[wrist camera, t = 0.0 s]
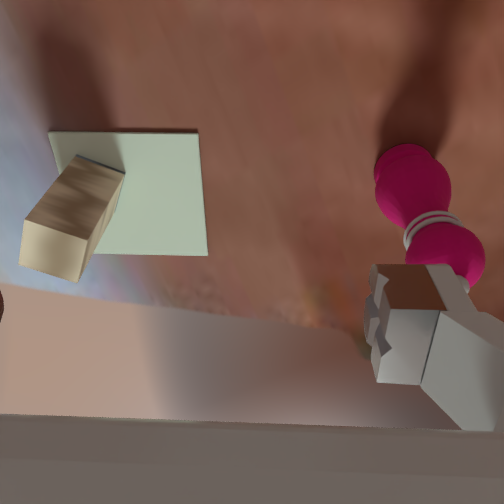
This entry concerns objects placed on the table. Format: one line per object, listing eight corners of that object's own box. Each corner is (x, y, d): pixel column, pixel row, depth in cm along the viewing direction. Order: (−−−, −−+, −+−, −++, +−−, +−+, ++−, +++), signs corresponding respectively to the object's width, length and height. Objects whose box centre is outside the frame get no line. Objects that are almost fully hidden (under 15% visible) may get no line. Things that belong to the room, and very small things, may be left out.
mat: (49, 131, 50) (47, 132, 49) (198, 132, 49) (197, 134, 49) (83, 251, 59) (82, 253, 59) (208, 253, 59) (207, 255, 58)
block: (68, 194, 54) (18, 264, 43) (76, 154, 51) (24, 219, 40) (115, 210, 55) (77, 283, 44) (125, 172, 52) (87, 240, 41)
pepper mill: (382, 208, 53) (426, 339, 38) (358, 157, 50) (396, 278, 34) (446, 182, 51) (521, 309, 35) (425, 126, 47) (499, 241, 31)
